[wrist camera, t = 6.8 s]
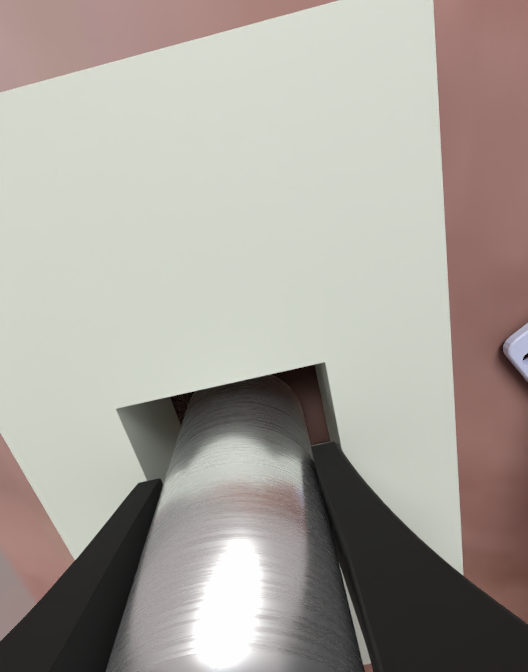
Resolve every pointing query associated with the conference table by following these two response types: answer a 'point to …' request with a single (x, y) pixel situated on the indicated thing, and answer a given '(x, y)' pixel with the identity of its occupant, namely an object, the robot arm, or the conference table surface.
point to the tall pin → (239, 548)
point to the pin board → (231, 257)
